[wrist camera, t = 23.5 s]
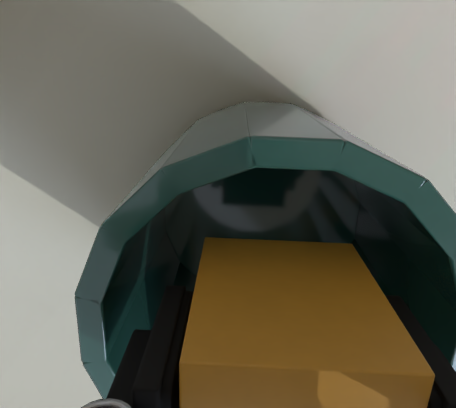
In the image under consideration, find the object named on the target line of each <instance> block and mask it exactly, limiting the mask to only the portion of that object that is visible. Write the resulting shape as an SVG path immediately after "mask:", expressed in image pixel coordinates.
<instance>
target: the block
mask: <svg viewBox="0 0 456 408" xmlns="http://www.w3.org/2000/svg"><path fill="white" fill-rule="evenodd" d="M434 378H435V374H434V372H433V371H432V369H431V367H430V366H429V364H428V363H427V361H426V360H425V358H424V356H423V355H422V353H421V352H420V350H419V349H418V347H417V345H416V344H415V342H414V341H413V339H412V337H411V336H410V334H409V333H408V331H407V330H406V328H405V326H404V325H403V323H402V322H401V320H400V319H399V317H398V315H397V314H396V312H395V311H394V309H393V308H392V306H391V304H390V303H389V301H388V300H387V298H386V296H385V295H384V293H383V292H382V290H381V289H380V287H379V285H378V284H377V282H376V281H375V279H374V278H373V276H372V274H371V273H370V271H369V270H368V268H367V267H366V265H365V263H364V262H363V260H362V259H361V257H360V255H359V254H358V252H357V251H356V249H355V248H354V246H353V244H348V243H326V242H303V241H280V240H257V239H235V238H212V237H205V239H204V244H203V249H202V254H201V259H200V263H199V268H198V273H197V278H196V283H195V288H194V293H193V298H192V303H191V308H190V313H189V317H188V322H187V327H186V332H185V337H184V342H183V347H182V352H181V357H180V362H179V406H180V408H427V406H428V402H429V398H430V394H431V390H432V386H433V382H434Z"/></svg>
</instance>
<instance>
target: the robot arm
mask: <svg viewBox="0 0 456 408" xmlns="http://www.w3.org/2000/svg"><path fill="white" fill-rule="evenodd" d="M385 296H386V298H387V300H388V301H389V303H390V304H391V306H392V308H393V309H394V311H395V312H396V314H397V315H398V317H399V319H400V320H401V322H402V323H403V325H404V326H405V328H406V330H407V331H408V333H409V334H410V336H411V337H412V339H413V341H414V342H415V344H416V345H417V347H418V349H419V350H420V352H421V353H422V355H423V356H424V358H425V360H426V361H427V363H428V364H429V366H430V367H431V369H432V371H433V372H434V374H435V378H434V382H433V386H432V390H431V394H430V398H429V402H428V406H427V408H456V371H455V370H454V369H453V367H452V366H451V364H450V363H449V362H448V360H447V359H446V357H445V356H444V354H443V353H442V352H441V350H440V349H439V348H438V347H437V346H436V345H435V344H434V343H433V342H432V340H431V339H430V338H429V336H428V335H427V333H426V332H425V330H424V329H423V328H422V326H421V325H420V323H419V322H418V320H417V319H416V318H415V316H414V315H413V313H412V312H411V310H410V309H409V308H408V306H407V305H406V303H405V302H404V300H403V299H402V298H401V297H400V296H394V295H385ZM192 298H193V293H192V291H186V286H174V285H167V286H166V288H165V291H164V294H163V297H162V300H161V303H160V306H159V309H158V312H157V315H156V318H155V321H154V324H153V327H152V330H141V329H135V330H134V331H133V333H132V335H131V338H130V340H129V343H128V345H127V348H126V350H125V353H124V355H123V358H122V360H121V363H120V365H119V368H118V370H117V373H116V375H115V378H114V380H113V383H112V385H111V388H110V390H109V393H108V395H107V398H106V399H99V400H96V401H92V402H90V403H88V404H86V405H84V406H83V407H81V408H180V406H179V362H180V357H181V352H182V347H183V342H184V337H185V332H186V327H187V322H188V317H189V313H190V308H191V303H192Z"/></svg>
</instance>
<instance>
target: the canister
mask: <svg viewBox="0 0 456 408" xmlns="http://www.w3.org/2000/svg"><path fill="white" fill-rule="evenodd" d="M205 237H212V238H235V239H257V240H280V241H303V242H326V243H348V244H353V246H354V248H355V249H356V251H357V252H358V254H359V255H360V257H361V259H362V260H363V262H364V263H365V265H366V267H367V268H368V270H369V271H370V273H371V274H372V276H373V278H374V279H375V281H376V282H377V284H378V285H379V287H380V289H381V290H382V292H383V293H384V295H394V296H400V297H401V298H402V299H403V300H404V302H405V303H406V305H407V306H408V308H409V309H410V310H411V312H412V313H413V315H414V316H415V318H416V319H417V320H418V322H419V323H420V325H421V326H422V328H423V329H424V330H425V332H426V333H427V335H428V336H429V338H430V339H431V340H432V342H433V343H434V344H435V345H436V346H437V347H438V348H439V349H440V350H441V352H442V353H443V354H444V356H445V357H446V359H447V360H448V362H449V363H450V364H451V366H452V367H453V369H454V370H455V371H456V213H455V212H454V211H453V210H452V208H451V207H450V206H449V205H448V203H447V202H446V201H445V200H444V198H443V197H442V196H441V195H440V193H439V192H438V191H437V190H436V188H435V187H434V186H433V185H432V183H431V182H430V181H429V180H428V179H426V178H425V177H424V176H422V175H420V174H419V173H417V172H415V171H413V170H412V169H410V168H408V167H407V166H405V165H403V164H402V163H400V162H398V161H397V160H395V159H393V158H392V157H390V156H388V155H387V154H385V153H383V152H382V151H380V150H378V149H377V148H375V147H373V146H371V145H370V144H368V143H366V142H365V141H363V140H361V139H360V138H358V137H356V136H355V135H353V134H351V133H350V132H348V131H346V130H345V129H343V128H341V127H340V126H338V125H336V124H334V123H332V122H330V121H328V120H326V119H324V118H322V117H320V116H318V115H316V114H314V113H312V112H310V111H308V110H305V109H303V108H301V107H299V106H297V105H295V104H291V103H276V102H245V103H244V102H242V103H239V104H237V105H234V106H231V107H227V108H224V109H221V110H219V111H217V112H215V113H213V114H210V115H208V116H205V117H202V118H200V119H198V120H197V121H196V122H195V123H194V124H193V125H192V126H191V127H190V128H189V129H188V130H187V131H186V132H185V133H184V134H183V135H182V136H181V137H180V138H179V139H178V140H177V141H176V142H175V143H174V144H173V145H171V146H170V147H169V148H168V149H167V150H166V152H165V153H164V154H163V155H162V156H161V157H160V158H159V159H158V161H157V162H156V163H155V164H154V165H153V166H152V167H151V169H150V170H149V171H148V172H147V173H146V174H145V175H144V177H143V178H142V179H141V180H140V181H139V182H138V183H137V185H136V186H135V187H134V188H133V189H132V190H131V191H130V193H129V194H128V195H127V196H126V197H125V198H124V199H123V201H122V202H121V203H120V204H119V205H118V206H117V207H116V209H115V210H114V211H113V212H112V213H111V214H110V215H109V216H108V218H107V219H106V220H105V221H104V222H103V223H102V225H101V226H100V228H99V230H98V233H97V236H96V238H95V241H94V244H93V246H92V249H91V251H90V254H89V257H88V259H87V262H86V265H85V267H84V270H83V273H82V275H81V278H80V281H79V283H78V286H77V289H76V291H75V304H76V314H77V324H78V333H79V343H80V353H81V361H82V362H83V366H84V368H85V369H86V371H87V373H88V374H89V376H90V378H91V379H92V381H93V383H94V384H95V386H96V388H97V389H98V391H99V393H100V395H101V396H102V398H103V399H106V398H107V395H108V393H109V390H110V388H111V385H112V383H113V380H114V378H115V375H116V373H117V370H118V368H119V365H120V363H121V360H122V358H123V355H124V353H125V350H126V348H127V345H128V343H129V340H130V338H131V335H132V333H133V331H134V330H135V329H141V330H152V327H153V324H154V321H155V318H156V315H157V312H158V309H159V306H160V303H161V300H162V297H163V294H164V291H165V288H166V286H167V285H174V286H186V291H192V293H194V288H195V283H196V278H197V273H198V268H199V263H200V259H201V254H202V249H203V244H204V239H205Z"/></svg>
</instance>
